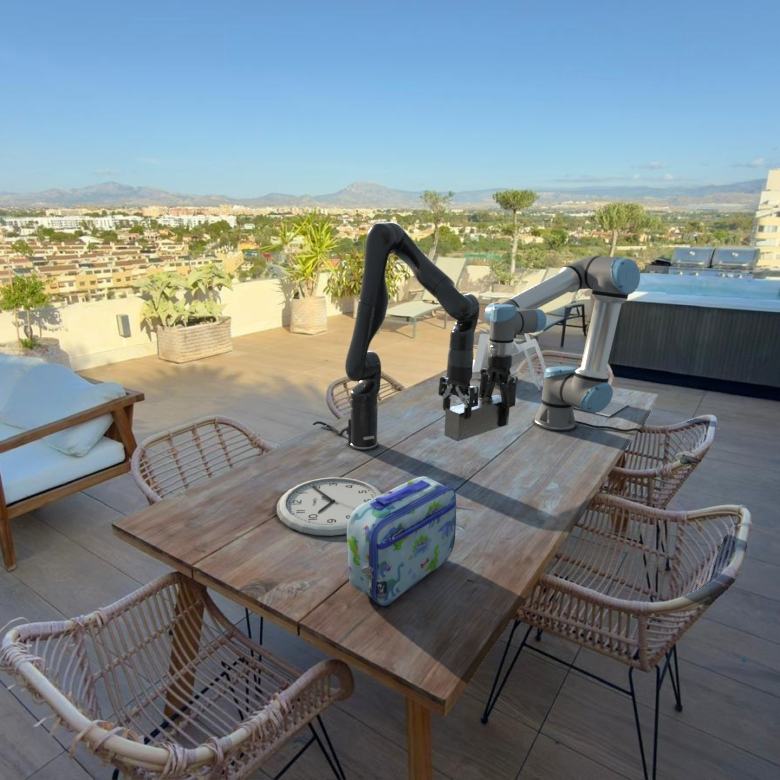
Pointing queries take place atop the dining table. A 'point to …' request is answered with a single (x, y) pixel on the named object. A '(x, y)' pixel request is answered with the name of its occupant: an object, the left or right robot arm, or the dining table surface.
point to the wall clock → (324, 504)
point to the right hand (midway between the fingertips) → (494, 422)
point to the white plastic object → (517, 355)
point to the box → (473, 419)
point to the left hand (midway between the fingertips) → (456, 414)
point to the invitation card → (611, 408)
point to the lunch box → (400, 538)
